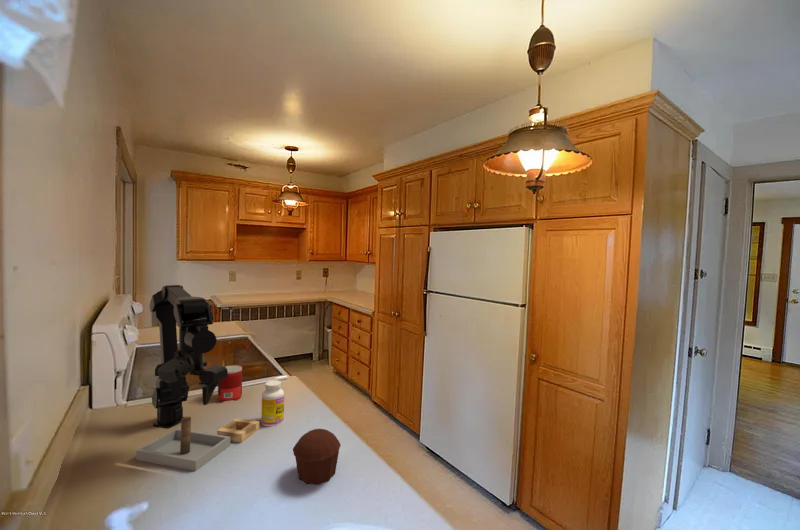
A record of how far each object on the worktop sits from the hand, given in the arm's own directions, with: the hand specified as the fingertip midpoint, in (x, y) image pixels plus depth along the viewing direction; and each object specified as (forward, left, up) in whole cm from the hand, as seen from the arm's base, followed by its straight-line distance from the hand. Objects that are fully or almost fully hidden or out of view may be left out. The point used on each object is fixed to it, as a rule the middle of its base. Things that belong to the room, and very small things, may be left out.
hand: (191, 402), depth 97 cm
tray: (+1, -3, -13) cm, 13 cm away
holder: (+8, +9, -13) cm, 18 cm away
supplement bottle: (+13, +19, -13) cm, 26 cm away
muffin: (+38, -1, -13) cm, 40 cm away
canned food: (-13, +32, -13) cm, 37 cm away
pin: (+1, -3, -12) cm, 12 cm away
